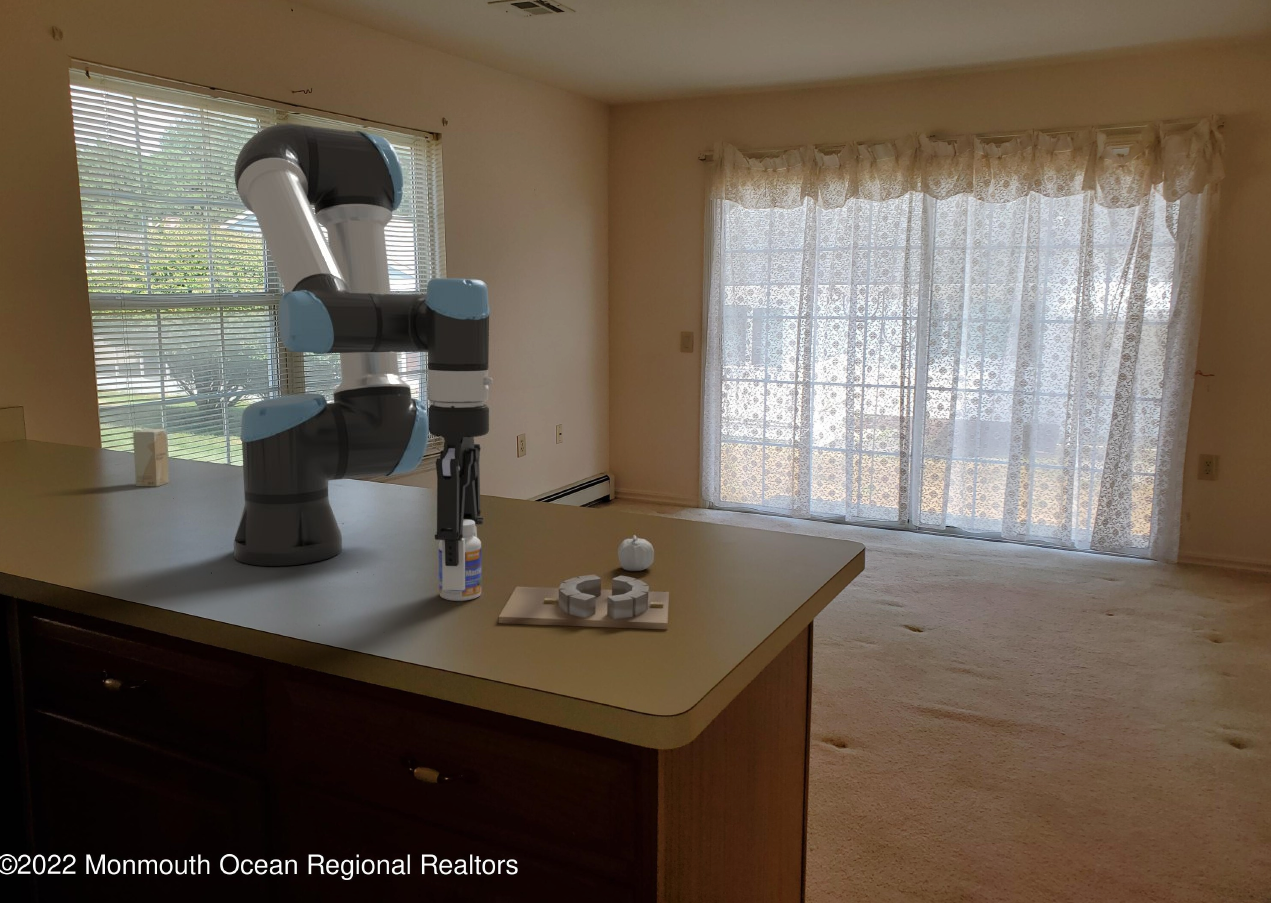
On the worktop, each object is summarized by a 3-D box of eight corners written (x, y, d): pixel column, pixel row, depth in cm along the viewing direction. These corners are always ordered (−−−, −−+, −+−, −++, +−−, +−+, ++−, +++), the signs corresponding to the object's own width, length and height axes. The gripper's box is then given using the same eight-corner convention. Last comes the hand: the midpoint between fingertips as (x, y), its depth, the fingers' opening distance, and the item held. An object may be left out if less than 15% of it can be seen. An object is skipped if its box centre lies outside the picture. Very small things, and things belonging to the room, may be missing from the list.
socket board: (498, 622, 109) (498, 598, 109) (516, 592, 121) (516, 570, 121) (667, 629, 108) (667, 604, 108) (668, 597, 120) (669, 575, 120)
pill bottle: (472, 603, 116) (471, 528, 115) (432, 599, 117) (431, 525, 116) (487, 590, 122) (487, 518, 120) (449, 587, 123) (448, 516, 121)
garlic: (640, 577, 129) (641, 541, 129) (608, 570, 132) (609, 535, 131) (662, 567, 134) (663, 532, 134) (631, 561, 137) (631, 527, 136)
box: (156, 487, 184) (153, 432, 182) (134, 486, 184) (131, 431, 182) (170, 482, 189) (166, 428, 187) (149, 481, 189) (145, 428, 187)
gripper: (471, 412, 106) (472, 605, 110) (503, 397, 125) (503, 562, 128) (406, 410, 106) (410, 603, 110) (448, 395, 125) (450, 560, 129)
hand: (460, 580), depth 119 cm, fingers open, 6 cm apart
